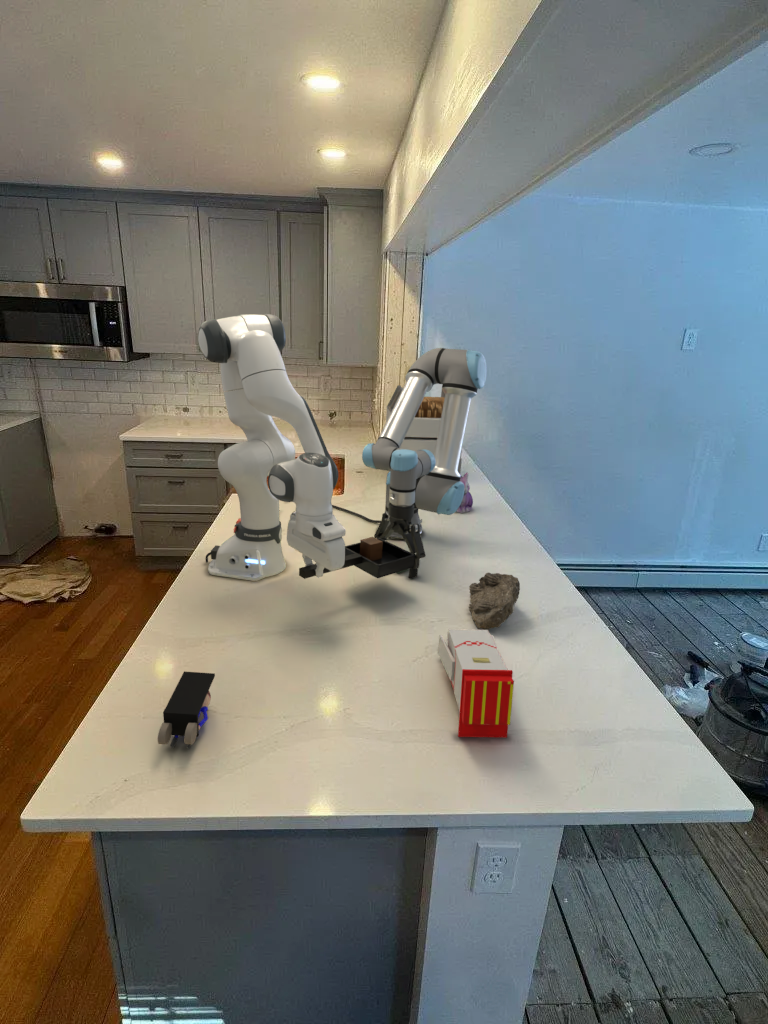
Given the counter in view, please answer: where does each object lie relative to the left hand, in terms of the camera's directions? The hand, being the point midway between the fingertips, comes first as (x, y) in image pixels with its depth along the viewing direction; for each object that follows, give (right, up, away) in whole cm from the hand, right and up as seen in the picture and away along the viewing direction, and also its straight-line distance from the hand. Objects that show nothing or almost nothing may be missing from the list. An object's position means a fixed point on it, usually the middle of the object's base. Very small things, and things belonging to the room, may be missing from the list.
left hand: (314, 573), depth 141 cm
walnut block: (+14, +3, +16) cm, 21 cm away
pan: (+9, 0, +8) cm, 12 cm away
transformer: (+35, +34, +134) cm, 143 cm away
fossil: (+46, -11, +10) cm, 48 cm away
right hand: (+21, -2, +32) cm, 39 cm away
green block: (+22, -2, +32) cm, 39 cm away
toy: (+35, -22, -22) cm, 47 cm away
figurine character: (-19, -25, -36) cm, 47 cm away
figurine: (+49, +16, +87) cm, 101 cm away
